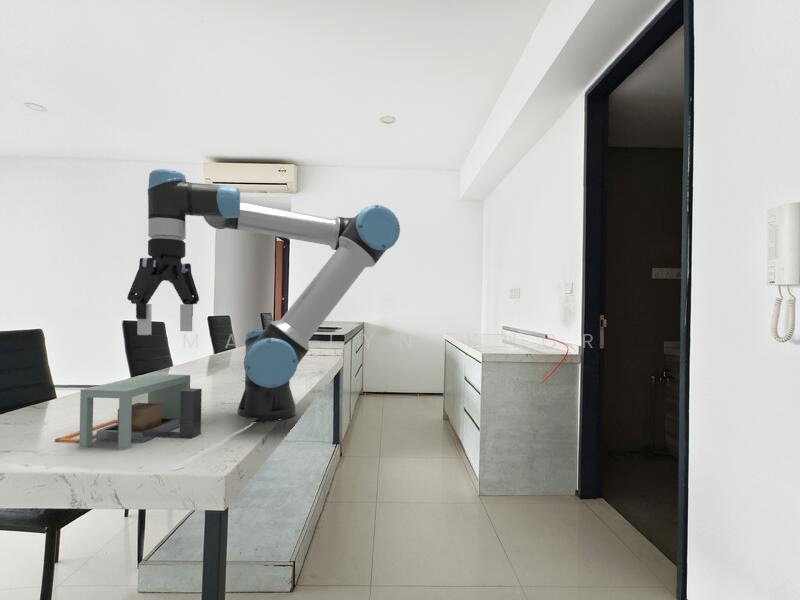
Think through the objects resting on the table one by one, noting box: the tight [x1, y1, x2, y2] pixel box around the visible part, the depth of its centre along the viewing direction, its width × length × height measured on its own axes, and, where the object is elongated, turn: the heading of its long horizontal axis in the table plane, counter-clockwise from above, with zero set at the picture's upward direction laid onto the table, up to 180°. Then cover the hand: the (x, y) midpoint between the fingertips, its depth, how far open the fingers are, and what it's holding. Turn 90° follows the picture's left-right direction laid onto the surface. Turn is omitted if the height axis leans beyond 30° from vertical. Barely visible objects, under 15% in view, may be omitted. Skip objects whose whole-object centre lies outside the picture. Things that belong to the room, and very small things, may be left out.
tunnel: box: [78, 373, 191, 451], centre depth 96 cm, size 10×21×12 cm, turn 173°
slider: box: [95, 387, 203, 444], centre depth 95 cm, size 19×12×11 cm, turn 83°
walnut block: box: [117, 402, 162, 432], centre depth 96 cm, size 6×6×6 cm
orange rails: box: [54, 419, 118, 444], centre depth 97 cm, size 6×16×2 cm, turn 173°
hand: (166, 333), depth 98 cm, fingers open, 13 cm apart
